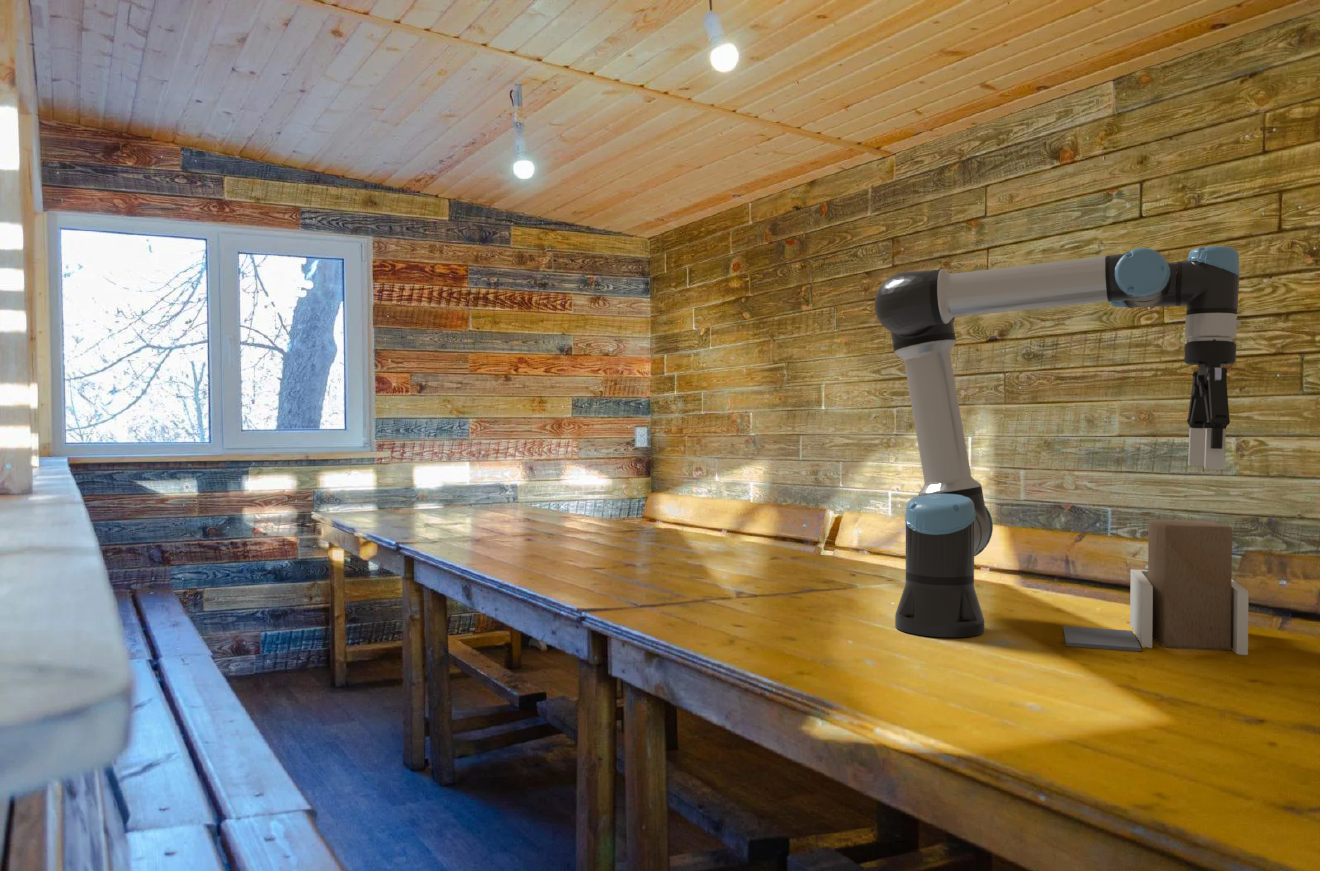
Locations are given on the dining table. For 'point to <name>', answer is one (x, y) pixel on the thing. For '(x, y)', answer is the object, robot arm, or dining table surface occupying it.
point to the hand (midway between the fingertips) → (1205, 467)
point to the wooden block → (1190, 583)
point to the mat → (1101, 638)
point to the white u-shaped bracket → (1144, 612)
